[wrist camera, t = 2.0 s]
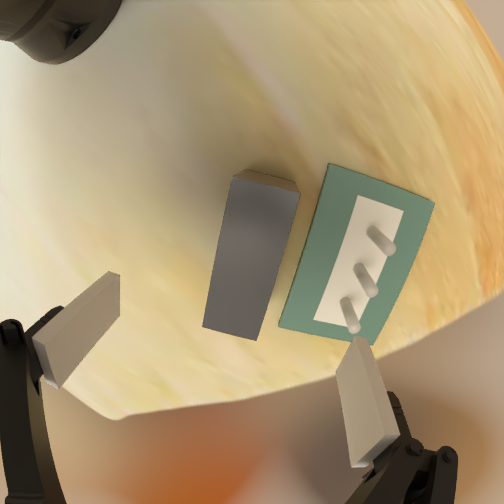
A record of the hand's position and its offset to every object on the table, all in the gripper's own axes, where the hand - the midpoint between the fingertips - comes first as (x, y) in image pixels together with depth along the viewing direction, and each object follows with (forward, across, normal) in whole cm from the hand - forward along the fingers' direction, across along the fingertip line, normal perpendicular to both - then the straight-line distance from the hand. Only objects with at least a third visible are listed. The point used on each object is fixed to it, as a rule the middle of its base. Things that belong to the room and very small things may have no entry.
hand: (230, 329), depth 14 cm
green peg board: (+15, +11, 0) cm, 18 cm away
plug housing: (+15, 0, 0) cm, 15 cm away
